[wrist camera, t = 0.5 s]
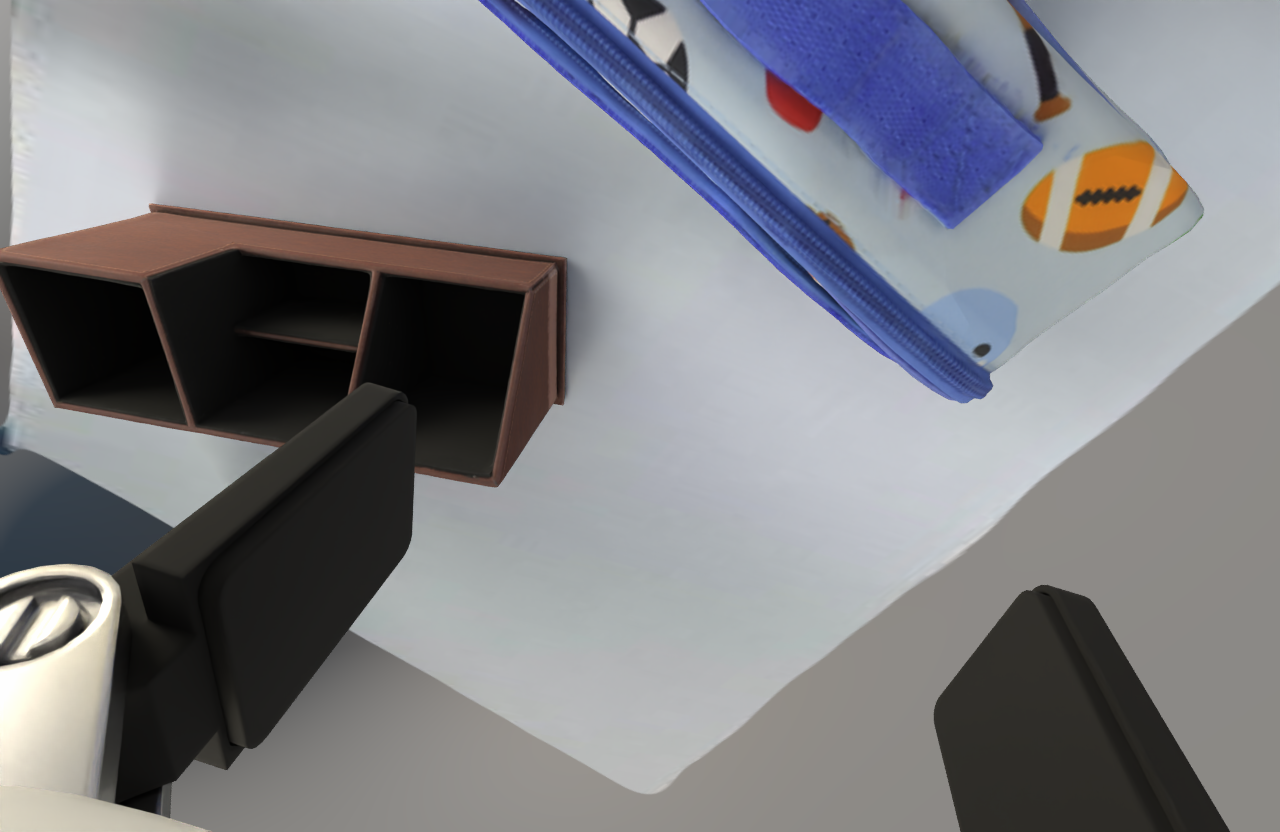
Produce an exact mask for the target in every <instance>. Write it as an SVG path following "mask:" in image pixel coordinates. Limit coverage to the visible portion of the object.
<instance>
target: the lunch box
mask: <svg viewBox="0 0 1280 832" xmlns="http://www.w3.org/2000/svg"><path fill="white" fill-rule="evenodd" d="M479 1H480V2H481V3H482V4H483V5H484V6H485V7H487V8H488V9H489V10H490V11H491V12H492V13H493V14H495V15H496V16H497V17H498V18H499V19H500V20H501V21H503V22H504V23H505V24H506V25H507V26H508V27H509V28H510V29H511V30H512V31H513V32H514V33H516V34H517V35H518V36H519V37H520V38H521V39H522V40H523V41H524V42H525V43H526V44H527V45H529V46H530V47H531V48H532V49H533V50H534V51H535V52H536V53H538V54H539V55H540V56H541V57H542V58H543V59H545V60H546V61H547V62H548V63H549V64H550V65H551V66H552V67H553V68H554V69H555V70H556V71H558V72H559V73H560V74H561V75H562V76H563V77H565V78H566V79H567V80H568V81H570V82H571V83H572V84H573V85H574V86H575V87H577V88H578V89H579V90H580V91H581V92H582V93H584V94H585V95H586V96H587V97H588V98H590V99H591V100H592V101H593V102H594V103H595V104H597V105H598V106H599V107H600V108H601V109H603V110H604V111H605V112H606V113H607V114H608V115H610V116H611V117H612V118H613V119H614V120H616V121H617V122H618V123H619V124H620V125H621V126H623V127H624V128H625V129H626V130H627V131H628V132H630V133H631V134H632V135H633V136H634V137H635V138H637V139H638V140H639V141H640V142H641V143H642V144H643V145H645V146H646V147H647V148H648V149H650V150H651V151H652V152H653V153H654V154H655V155H656V156H657V157H658V158H659V159H660V160H661V161H663V162H664V163H665V164H666V165H667V166H668V167H669V168H670V169H671V170H673V171H674V172H675V173H676V174H677V175H678V176H679V177H680V178H682V179H683V180H684V181H685V182H686V183H687V184H688V185H689V186H690V187H692V188H693V189H694V190H695V191H696V192H697V193H698V194H699V195H701V196H702V197H703V198H704V199H705V200H706V201H707V202H708V203H709V204H710V205H711V206H713V207H714V208H715V209H716V210H717V211H718V212H719V213H720V214H721V215H722V216H723V217H724V218H725V219H726V220H728V221H729V222H730V223H731V224H732V225H733V226H734V227H735V228H736V229H737V230H738V231H739V232H740V233H741V234H742V235H743V236H744V237H745V238H746V239H747V240H748V241H749V242H750V243H751V244H752V245H753V246H754V247H755V248H756V249H757V250H758V251H760V252H761V253H762V254H763V255H764V256H765V257H766V258H767V259H768V260H769V261H770V262H771V263H772V264H773V265H774V266H775V267H776V268H777V269H778V270H779V271H780V272H781V273H782V274H784V275H785V276H786V277H787V278H788V279H789V280H791V281H792V282H793V283H794V284H795V285H796V286H797V287H799V288H800V289H801V290H802V291H803V292H804V293H805V294H807V295H808V296H809V297H810V298H812V299H813V300H814V301H815V302H817V303H818V304H819V305H820V306H822V307H823V308H824V309H825V310H827V311H828V312H829V313H830V314H831V315H833V316H834V317H835V318H836V319H838V320H839V321H840V322H841V323H842V324H843V325H844V326H845V327H846V328H848V329H849V330H850V331H852V332H853V333H854V334H855V335H856V336H858V337H859V338H860V339H861V340H863V341H864V342H865V343H867V344H868V345H869V346H871V347H872V348H873V349H875V350H876V351H878V352H879V353H880V354H882V355H884V356H885V357H887V358H889V359H891V360H893V361H894V362H896V363H898V364H899V365H900V366H901V367H902V368H903V369H904V370H906V371H907V372H908V373H909V374H910V375H911V376H912V377H914V378H915V379H917V380H918V381H920V382H921V383H922V384H924V385H925V386H927V387H928V388H930V389H931V390H932V391H934V392H936V393H938V394H939V395H941V396H943V397H945V398H947V399H949V400H955V401H958V402H960V403H967V402H969V401H970V400H972V399H974V398H977V399H982V398H984V397H985V396H986V394H987V393H988V392H989V391H990V390H991V389H992V387H993V385H992V382H991V380H990V373H991V372H993V371H995V370H996V369H998V368H999V367H1001V366H1002V365H1003V364H1005V363H1006V362H1007V361H1009V360H1010V359H1011V358H1012V357H1014V356H1015V355H1016V354H1017V353H1018V352H1020V351H1021V350H1022V349H1023V348H1024V347H1025V346H1026V345H1028V344H1029V343H1030V342H1031V341H1032V340H1034V339H1035V338H1037V337H1038V336H1039V335H1041V334H1042V333H1043V332H1045V331H1046V330H1048V329H1049V328H1050V327H1052V326H1053V325H1055V324H1056V323H1057V322H1059V321H1060V320H1062V319H1063V318H1065V317H1066V316H1068V315H1069V314H1070V313H1072V312H1073V311H1075V310H1076V309H1078V308H1079V307H1081V306H1082V305H1084V304H1085V303H1087V302H1088V301H1089V300H1091V299H1092V298H1094V297H1095V296H1097V295H1098V294H1100V293H1101V292H1103V291H1104V290H1105V289H1107V288H1108V287H1109V286H1111V285H1112V284H1113V283H1115V282H1116V281H1117V280H1119V279H1120V278H1121V277H1123V276H1124V275H1125V274H1127V273H1128V272H1129V271H1131V270H1132V269H1133V268H1135V267H1136V266H1137V265H1139V264H1140V263H1141V262H1143V261H1144V260H1146V259H1147V258H1148V257H1150V256H1152V255H1153V254H1155V253H1157V252H1158V251H1160V250H1162V249H1163V248H1165V247H1167V246H1168V245H1170V244H1171V243H1173V242H1174V241H1176V240H1177V239H1179V238H1180V237H1182V236H1183V235H1185V234H1186V233H1188V232H1189V231H1190V230H1191V229H1192V228H1193V227H1194V226H1195V225H1196V224H1197V223H1198V221H1199V220H1200V219H1201V218H1202V216H1203V213H1204V208H1203V206H1202V204H1201V202H1200V200H1199V198H1198V196H1197V195H1196V193H1195V192H1194V191H1193V190H1192V188H1191V187H1190V186H1189V185H1188V183H1187V182H1186V181H1185V180H1184V179H1183V178H1182V177H1181V176H1180V175H1179V174H1178V173H1177V172H1176V170H1175V169H1174V168H1173V167H1172V166H1171V165H1170V163H1169V162H1168V160H1167V158H1166V157H1165V155H1164V153H1163V152H1162V150H1161V149H1160V148H1159V147H1158V146H1157V144H1156V143H1155V142H1154V141H1153V140H1152V138H1151V137H1150V136H1149V135H1148V134H1147V133H1146V132H1145V131H1144V130H1143V129H1142V128H1141V127H1140V126H1139V125H1138V124H1136V123H1135V122H1134V121H1133V120H1132V119H1131V118H1130V117H1129V116H1128V115H1127V114H1126V113H1125V112H1124V111H1123V110H1121V109H1120V108H1119V107H1118V106H1117V105H1116V104H1115V103H1114V102H1113V101H1112V100H1111V99H1110V98H1109V97H1108V96H1107V95H1106V94H1105V93H1104V92H1103V91H1102V90H1101V89H1100V88H1099V87H1098V86H1097V85H1096V84H1095V83H1094V82H1093V81H1092V80H1091V79H1090V78H1089V76H1088V75H1087V74H1086V73H1085V72H1084V71H1083V70H1082V69H1081V68H1080V67H1079V66H1078V64H1077V63H1076V62H1075V61H1074V60H1073V59H1072V58H1071V57H1070V56H1069V55H1068V54H1067V52H1066V51H1065V50H1064V49H1063V48H1062V47H1061V46H1060V44H1059V43H1058V42H1057V41H1056V39H1055V38H1054V37H1053V36H1052V34H1051V33H1050V32H1049V31H1048V29H1047V28H1046V27H1045V26H1044V24H1043V23H1042V22H1041V21H1040V19H1039V18H1038V17H1037V16H1036V14H1035V13H1034V12H1033V11H1032V9H1031V8H1030V7H1029V6H1028V4H1027V3H1026V2H1025V1H1024V0H479Z"/></svg>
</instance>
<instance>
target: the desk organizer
mask: <svg viewBox="0 0 1280 832" xmlns="http://www.w3.org/2000/svg"><path fill="white" fill-rule="evenodd" d="M149 209H150V211H151V213H148V214H145V215H141V216H138V217H135V218H131V219H127V220H123V221H118V222H114V223H110V224H106V225H102V226H97V227H93V228H89V229H84V230H80V231H75V232H71V233H66V234H62V235H57V236H53V237H48V238H44V239H39V240H35V241H30V242H26V243H22V244H18V245H13V246H9V247H5V248H1V249H0V290H1V292H2V294H3V296H4V298H5V300H6V303H7V305H8V307H9V309H10V312H11V314H12V316H13V318H14V320H15V323H16V325H17V327H18V329H19V331H20V334H21V336H22V338H23V340H24V342H25V344H26V347H27V349H28V351H29V353H30V355H31V357H32V360H33V362H34V364H35V366H36V368H37V370H38V372H39V375H40V377H41V379H42V381H43V383H44V386H45V388H46V390H47V392H48V394H49V397H50V399H51V401H52V403H53V405H54V407H55V408H62V409H68V410H73V411H79V412H85V413H90V414H96V415H102V416H107V417H112V418H118V419H123V420H128V421H133V422H139V423H146V424H151V425H156V426H161V427H167V428H172V429H178V430H184V431H190V432H197V433H203V434H208V435H214V436H219V437H224V438H230V439H236V440H241V441H247V442H252V443H257V444H264V445H270V446H275V447H281V446H282V445H284V444H285V443H286V442H288V441H289V440H290V439H291V438H293V437H294V436H295V435H297V434H298V433H299V432H301V431H302V430H303V429H305V428H306V427H307V426H308V425H310V424H311V423H312V422H314V421H315V420H316V419H318V418H319V417H320V416H322V415H323V414H324V413H325V412H327V411H328V410H329V409H331V408H332V407H333V406H335V405H336V404H337V403H338V402H340V401H341V400H342V399H344V398H345V397H346V396H348V395H349V394H350V393H352V392H353V391H354V390H355V389H357V388H358V387H359V386H361V385H362V384H364V383H373V384H376V385H380V386H383V387H386V388H390V389H393V390H396V391H400V392H403V393H404V394H406V396H407V399H408V404H410V405H413V406H414V407H415V408H416V411H417V423H416V447H415V472H414V473H418V474H424V475H429V476H434V477H439V478H445V479H450V480H455V481H460V482H467V483H472V484H478V485H483V486H488V487H498V486H499V485H500V483H501V482H502V481H503V479H504V478H505V476H506V474H507V473H508V472H509V470H510V469H511V467H512V466H513V464H514V463H515V461H516V460H517V458H518V457H519V455H520V454H521V452H522V451H523V449H524V448H525V446H526V444H527V443H528V441H529V440H530V438H531V437H532V435H533V433H534V432H535V430H536V429H537V427H538V426H539V424H540V423H541V421H542V420H543V418H544V417H545V415H546V414H547V412H548V411H549V409H550V408H551V406H552V405H553V404H558V405H563V404H564V399H565V350H566V346H565V334H566V273H567V270H566V268H567V258H564V257H554V256H547V255H539V254H532V253H523V252H517V251H509V250H502V249H495V248H487V247H478V246H471V245H463V244H456V243H448V242H440V241H432V240H424V239H417V238H410V237H403V236H394V235H386V234H379V233H371V232H364V231H356V230H348V229H340V228H332V227H326V226H318V225H310V224H303V223H295V222H288V221H281V220H273V219H266V218H259V217H251V216H243V215H235V214H228V213H220V212H212V211H204V210H198V209H190V208H182V207H174V206H166V205H157V204H149Z"/></svg>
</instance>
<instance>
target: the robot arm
mask: <svg viewBox="0 0 1280 832" xmlns="http://www.w3.org/2000/svg"><path fill="white" fill-rule="evenodd" d="M416 423H417V411H416V408H415V407H414V406H413V405H410V404H408V399H407V396H406V394H404V393H403V392H400V391H396V390H393V389H390V388H386V387H383V386H380V385H376V384H373V383H364V384H362V385H361V386H359V387H358V388H357V389H355V390H354V391H353V392H352V393H350V394H349V395H348V396H346V397H345V398H344V399H342V400H341V401H340V402H338V403H337V404H336V405H335V406H333V407H332V408H331V409H329V410H328V411H327V412H325V413H324V414H323V415H322V416H320V417H319V418H318V419H316V420H315V421H314V422H312V423H311V424H310V425H308V426H307V427H306V428H305V429H303V430H302V431H301V432H299V433H298V434H297V435H295V436H294V437H293V438H291V439H290V440H289V441H288V442H286V443H285V444H284V445H282V446H281V447H280V448H278V449H277V450H276V451H275V452H273V453H272V454H270V455H269V456H267V457H266V458H265V459H263V460H262V461H261V462H260V463H258V464H257V465H256V466H254V467H253V468H252V469H250V470H249V471H248V472H247V473H245V474H244V475H243V476H241V477H240V478H239V479H237V480H236V481H235V482H233V483H232V484H231V485H230V486H228V487H227V488H226V489H224V490H223V491H222V492H220V493H219V494H218V495H216V496H215V497H214V498H213V499H211V500H210V501H209V502H207V503H206V504H205V505H203V506H202V507H201V508H200V509H198V510H197V511H196V512H194V513H193V514H192V515H190V516H189V517H188V518H186V519H185V520H184V521H183V522H181V523H180V524H179V525H177V526H176V527H175V528H173V529H172V530H171V531H170V532H168V533H167V534H166V535H164V536H163V537H162V538H160V539H159V540H158V541H156V542H155V543H154V544H152V545H151V546H150V547H149V548H147V549H146V550H145V551H144V552H142V553H141V554H139V555H138V556H137V557H136V558H134V559H133V560H132V561H130V562H129V563H128V564H127V565H125V566H124V567H123V568H121V569H120V570H119V571H117V572H116V573H115V574H113V575H112V576H111V575H110V574H108V573H106V572H104V571H101V570H99V569H96V568H94V567H90V566H82V565H73V564H65V565H52V566H41V567H37V568H33V569H29V570H25V571H21V572H17V573H13V574H11V575H8V576H6V577H3V578H1V579H0V832H212V831H208V830H205V829H202V828H198V827H196V826H192V825H189V824H186V823H183V822H180V821H177V820H173V819H170V814H171V792H172V782H174V781H176V780H177V779H178V778H179V777H180V775H181V774H182V773H183V772H184V771H185V769H186V768H187V767H188V766H189V765H190V763H191V762H192V761H193V760H194V759H195V760H198V761H200V762H203V763H206V764H209V765H213V766H215V767H218V768H222V769H224V770H228V768H229V767H230V766H231V764H232V763H233V762H234V761H235V759H236V758H237V757H238V755H239V754H240V753H241V752H242V750H243V749H244V748H245V747H246V748H249V749H253V748H255V747H257V746H258V745H259V744H260V743H262V742H263V740H264V739H265V738H266V737H267V736H268V735H269V733H270V732H271V731H272V729H273V728H274V727H275V725H276V724H277V723H278V721H279V720H280V719H281V717H282V716H283V715H284V714H285V712H286V711H287V710H288V708H289V707H290V706H291V704H292V703H293V702H294V700H295V699H296V698H297V696H298V695H299V694H300V692H301V691H302V690H303V688H304V687H305V686H306V685H307V683H308V682H309V681H310V679H311V678H312V677H313V675H314V674H315V673H316V671H317V670H318V669H319V667H320V666H321V665H322V664H323V662H324V661H325V659H326V658H327V657H328V656H329V654H330V653H331V652H332V650H333V649H334V648H335V646H336V645H337V644H338V642H339V641H340V640H341V638H342V637H343V636H344V635H345V633H346V632H347V631H348V629H349V628H350V627H351V625H352V624H353V623H354V621H355V620H356V619H357V617H358V616H359V615H360V613H361V612H362V611H363V610H364V608H365V607H366V606H367V604H368V603H369V602H370V600H371V599H372V598H373V596H374V595H375V594H376V592H377V591H378V590H379V588H380V587H381V586H382V585H383V583H384V582H385V581H386V579H387V578H388V577H389V575H390V574H391V573H392V571H393V570H394V569H395V567H396V566H397V565H398V563H399V562H400V561H401V559H402V558H403V557H404V555H405V553H406V551H407V549H408V547H409V544H410V541H411V537H412V522H413V497H414V472H415V447H416ZM934 724H935V729H936V733H937V737H938V741H939V745H940V749H941V753H942V757H943V761H944V765H945V769H946V774H947V778H948V782H949V786H950V790H951V794H952V798H953V802H954V806H955V811H956V815H957V819H958V823H959V827H960V831H961V832H1230V831H1229V829H1228V827H1227V826H1226V824H1225V822H1224V821H1223V819H1222V817H1221V816H1220V814H1219V812H1218V811H1217V809H1216V807H1215V806H1214V804H1213V802H1212V801H1211V799H1210V797H1209V796H1208V794H1207V792H1206V791H1205V789H1204V787H1203V786H1202V784H1201V782H1200V781H1199V779H1198V777H1197V775H1196V774H1195V772H1194V771H1193V769H1192V767H1191V765H1190V764H1189V762H1188V760H1187V759H1186V757H1185V755H1184V754H1183V752H1182V750H1181V749H1180V747H1179V745H1178V744H1177V742H1176V740H1175V739H1174V737H1173V735H1172V733H1171V732H1170V730H1169V728H1168V727H1167V725H1166V723H1165V722H1164V720H1163V718H1162V717H1161V715H1160V713H1159V712H1158V710H1157V708H1156V707H1155V705H1154V703H1153V702H1152V700H1151V698H1150V697H1149V695H1148V693H1147V692H1146V690H1145V688H1144V687H1143V685H1142V683H1141V681H1140V680H1139V678H1138V677H1137V675H1136V673H1135V672H1134V670H1133V668H1132V666H1131V665H1130V663H1129V661H1128V660H1127V658H1126V656H1125V655H1124V653H1123V651H1122V650H1121V648H1120V646H1119V645H1118V643H1117V642H1116V640H1115V638H1114V636H1113V635H1112V633H1111V631H1110V629H1109V628H1108V626H1107V625H1106V623H1105V621H1104V619H1103V618H1102V616H1101V615H1100V613H1099V611H1098V609H1097V608H1096V606H1095V605H1094V603H1093V602H1092V601H1091V600H1090V599H1089V598H1087V597H1085V596H1082V595H1079V594H1075V593H1072V592H1069V591H1065V590H1062V589H1059V588H1055V587H1052V586H1049V585H1040V586H1038V587H1036V588H1034V589H1033V590H1032V591H1028V590H1026V591H1024V592H1022V593H1021V594H1020V595H1019V596H1018V597H1017V598H1016V599H1015V601H1014V602H1013V603H1012V605H1011V606H1010V607H1009V609H1008V610H1007V611H1006V612H1005V614H1004V615H1003V616H1002V617H1001V619H1000V620H999V621H998V622H997V624H996V625H995V626H994V628H993V629H992V630H991V631H990V633H989V634H988V635H987V637H986V638H985V639H984V640H983V642H982V643H981V644H980V645H979V647H978V648H977V650H976V651H975V652H974V653H973V655H972V656H971V657H970V658H969V660H968V661H967V662H966V663H965V665H964V666H963V667H962V669H961V670H960V671H959V673H958V674H957V675H956V676H955V677H954V679H953V680H952V681H951V683H950V684H949V685H948V687H947V688H946V689H945V690H944V692H943V693H942V694H941V695H940V697H939V698H938V700H937V702H936V705H935V709H934Z"/></svg>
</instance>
